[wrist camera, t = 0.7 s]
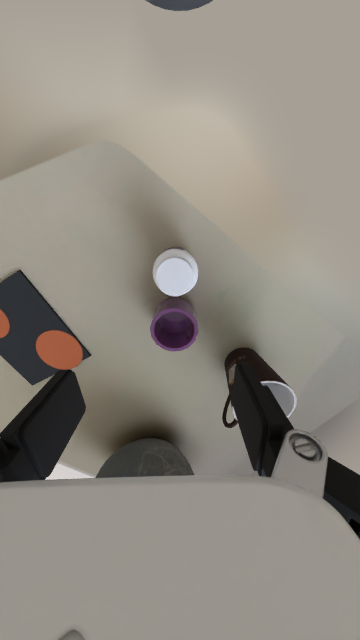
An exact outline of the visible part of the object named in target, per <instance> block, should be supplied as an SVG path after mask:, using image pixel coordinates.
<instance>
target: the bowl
mask: <svg viewBox="0 0 360 640" xmlns="http://www.w3.org/2000/svg"><path fill="white" fill-rule="evenodd" d="M188 475H194V473H193V471H192V468H191V466H190V464H189V463H188V461H187V459H186V458H185V456H184V455H183V454H182V453H181V451H180V450H179V449H178V448H176V447H175V446H174V445H172V444H171V443H169V442H167V441H165V440H161V439H156V438H146V439H140V440H136V441H133V442H130V443H128V444H126V445H124V446H123V447H121V448H120V449H118V450H117V451H116V452H115V453H114V454H112V455H111V456H110V457H109V458H108V460H107V461H106V462H105V463H104V465H103V466H102V467H101V469H100V471H99V473H98V474H97V476H96V478H115V477H148V476H188Z"/></svg>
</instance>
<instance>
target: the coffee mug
mask: <svg viewBox="0 0 360 640" xmlns="http://www.w3.org/2000/svg"><path fill="white" fill-rule="evenodd" d="M241 362H249V363H250V364H251V366H252V368H253V370H254V371H255V373H256V375H257V377H258V378H259V380H260V382H261V384H262V385H267V386H268V387H269V388H270V390H271V392H272V393H273V395H274V397H275V398H276V400H277V402H278V403H279V405H280V406H281V408H282V410H283V411H284V413H285V415H286V416H287V418H288V417H289V416H290V415H291V414H292V413H293V411H294V409H295V407H296V402H297V399H296V395H295V393H294V391H293V390H292V389H291V387H290V386H289V385H288V384H287V383H286V382H285V381H284V380H283V379H282V378H281V377H280V376H279V375H278V374H277V373H276V372H275V371H274V370H273V369H272V368H271V367H270V366H269V365H268V364H267V363H266V362H265V361H264V360H263V359H262V358H261V357H260V356H259V355H258V354H257V353H256V352H255V351H254V350H252V349H249V348H239V349H236V350H234V351H232V352H231V353H230V354H229V355H228V356H227V357H226V360H225V371H226V376H227V382H228V388H229V396H228V399H227V401H226V404H225V407H224V411H223V417H222V418H223V423H224V425H225V427H227V428H232V427H234V426H235V425H236V424H237V423H238V421H237V417H236V414H235V411H234V408H233V403H232V398H233V385H234V373H235V365H238V363H241ZM230 400H231V406H232V412H233V415H234V417H235V419H234V421H233V422H232V423H229V424H228V423H227V421H226V413H227V408H228V405H229V403H230Z"/></svg>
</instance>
